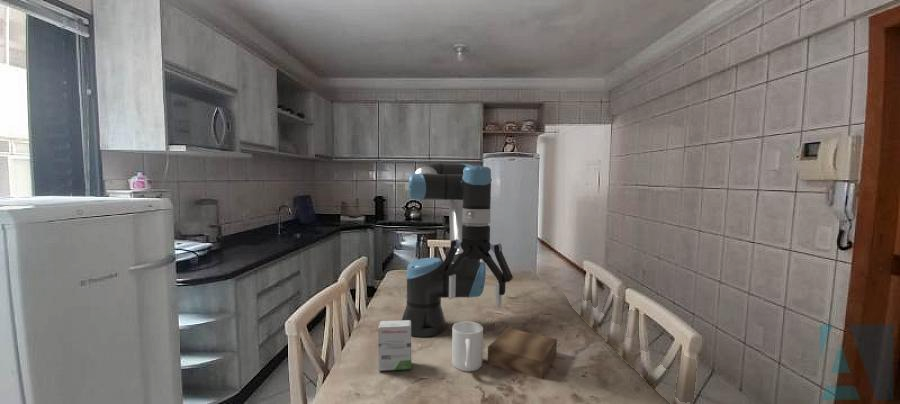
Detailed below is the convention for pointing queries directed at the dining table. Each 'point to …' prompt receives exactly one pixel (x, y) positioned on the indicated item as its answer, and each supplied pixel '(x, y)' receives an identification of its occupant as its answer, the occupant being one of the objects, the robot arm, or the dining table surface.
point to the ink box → (394, 345)
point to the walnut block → (523, 352)
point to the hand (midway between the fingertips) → (474, 302)
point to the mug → (467, 346)
